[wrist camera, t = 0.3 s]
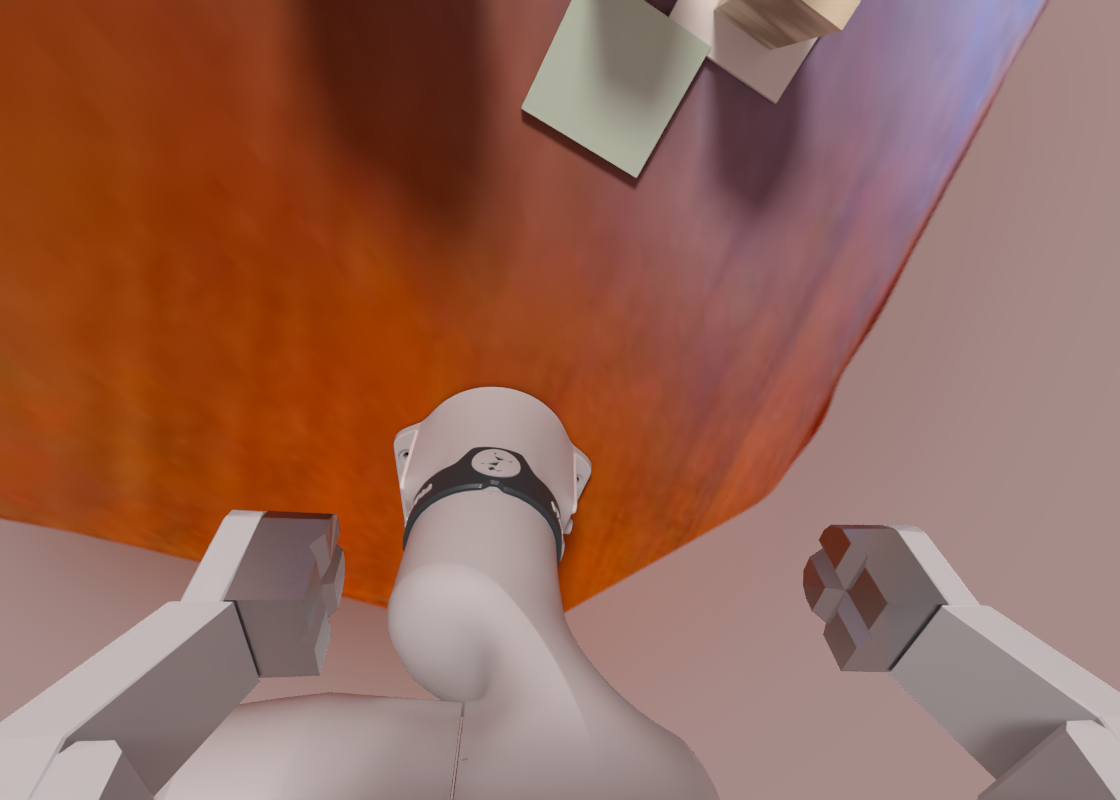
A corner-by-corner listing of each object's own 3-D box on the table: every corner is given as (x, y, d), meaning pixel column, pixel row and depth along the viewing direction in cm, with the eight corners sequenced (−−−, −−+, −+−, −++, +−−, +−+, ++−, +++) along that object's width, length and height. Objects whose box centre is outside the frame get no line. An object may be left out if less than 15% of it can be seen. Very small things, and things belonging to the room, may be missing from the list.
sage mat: (708, 47, 43) (711, 46, 42) (635, 177, 46) (636, 178, 46) (588, -35, 40) (589, -38, 40) (521, 108, 44) (521, 108, 43)
